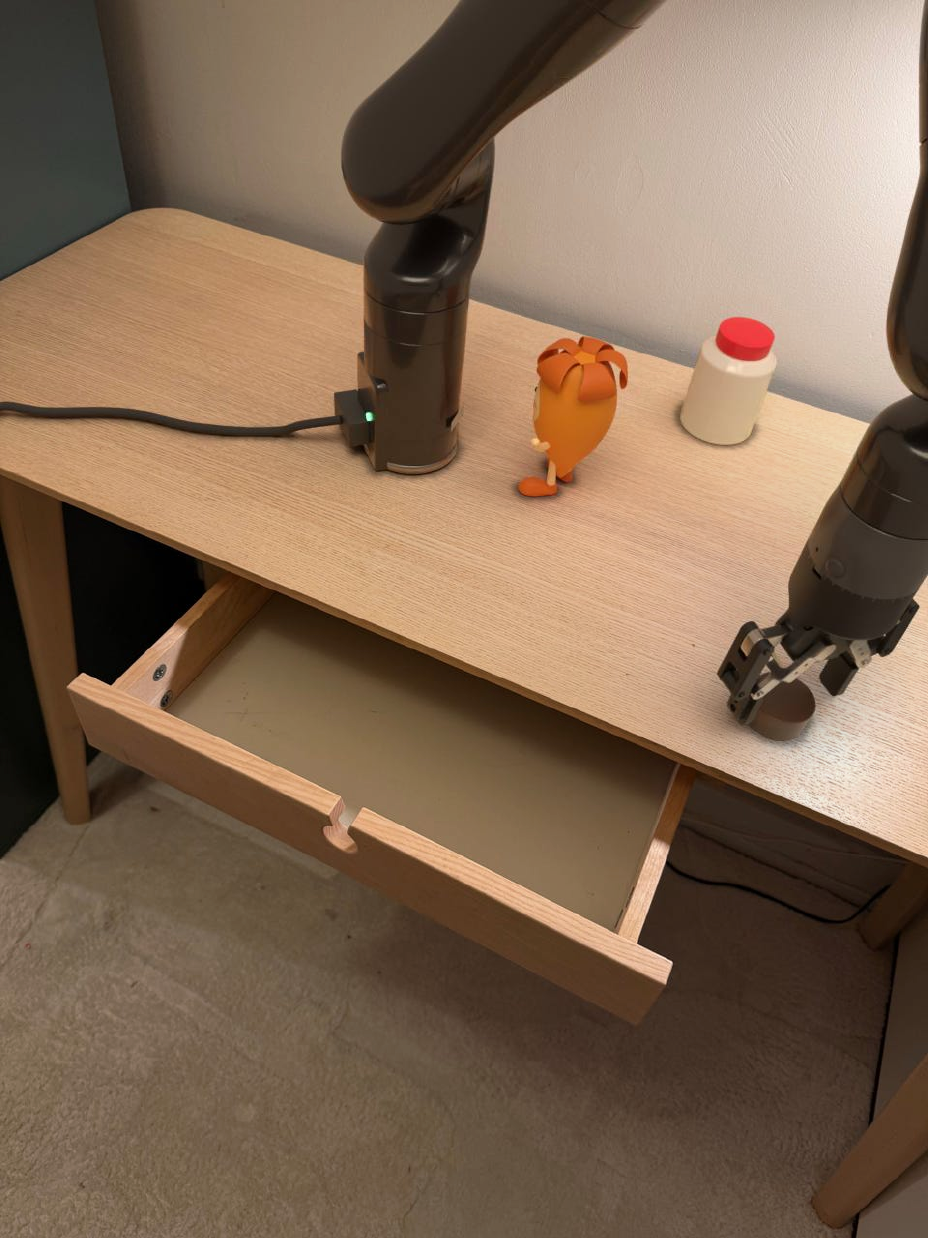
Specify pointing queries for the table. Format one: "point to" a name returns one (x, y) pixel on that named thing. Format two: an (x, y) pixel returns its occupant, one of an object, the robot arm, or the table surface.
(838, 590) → the robot arm
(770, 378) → the pill bottle
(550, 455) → the toy figure
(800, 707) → the brown hockey puck
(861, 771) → the table surface
